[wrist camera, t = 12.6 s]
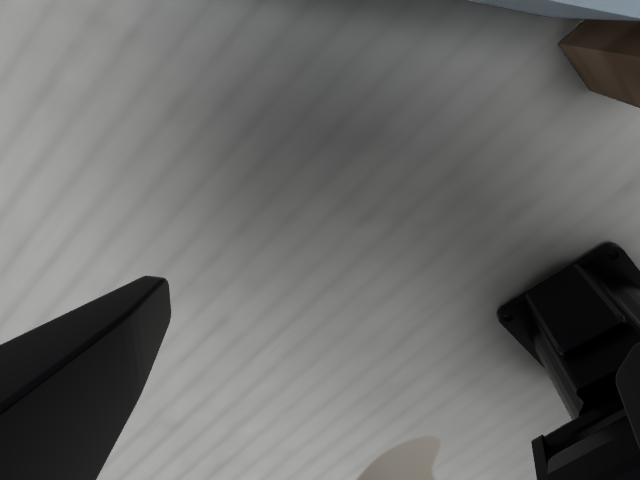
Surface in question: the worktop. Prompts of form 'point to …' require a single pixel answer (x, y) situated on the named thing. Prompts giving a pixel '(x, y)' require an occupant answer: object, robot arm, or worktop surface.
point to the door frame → (607, 57)
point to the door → (574, 8)
